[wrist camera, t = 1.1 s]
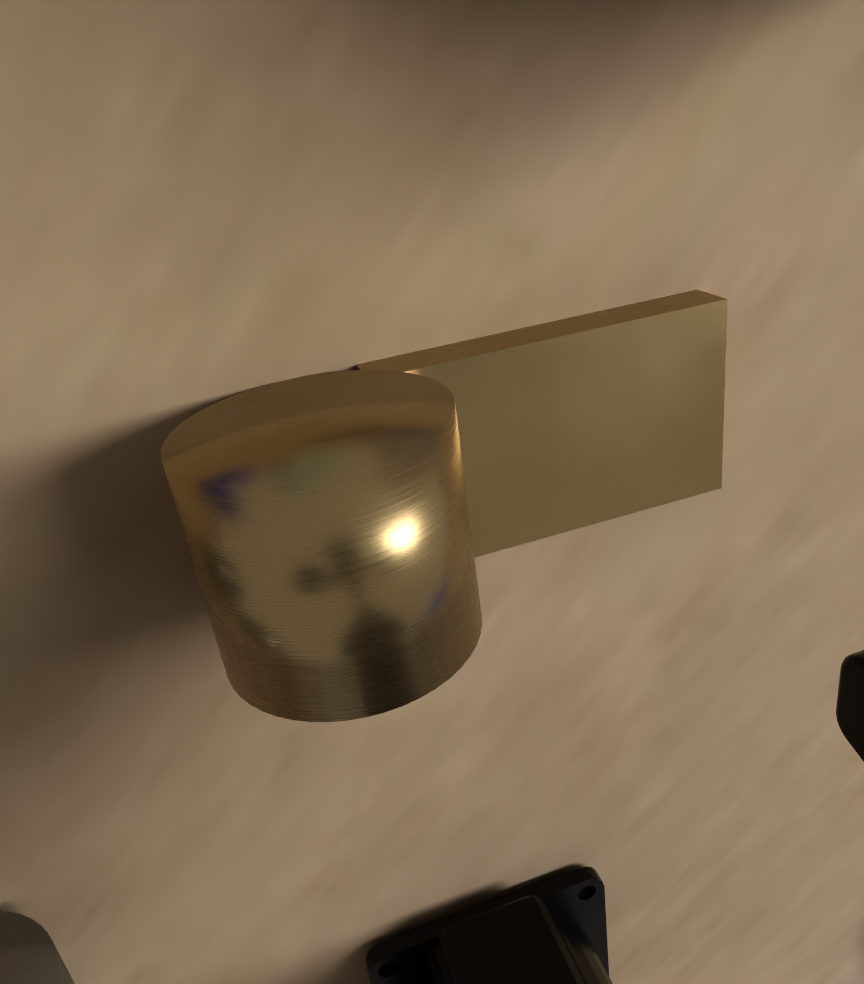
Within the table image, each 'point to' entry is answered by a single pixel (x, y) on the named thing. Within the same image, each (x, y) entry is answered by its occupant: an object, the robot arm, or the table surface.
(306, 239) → the table surface
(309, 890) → the table surface
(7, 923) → the fixed leaf
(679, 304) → the brass hinge knuckle
